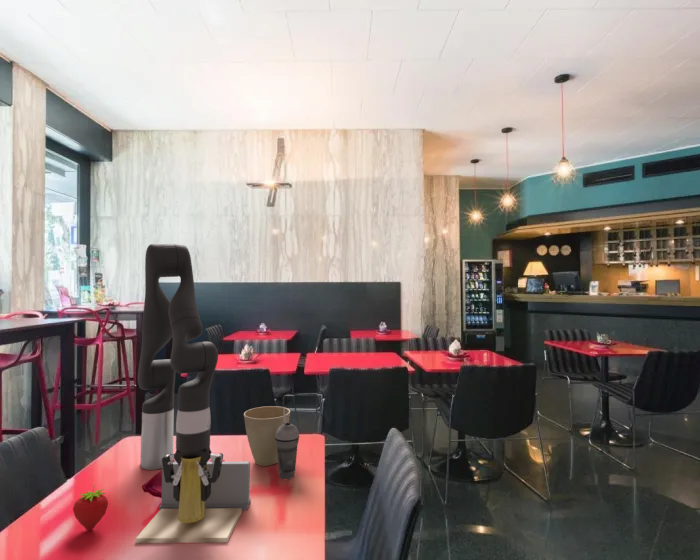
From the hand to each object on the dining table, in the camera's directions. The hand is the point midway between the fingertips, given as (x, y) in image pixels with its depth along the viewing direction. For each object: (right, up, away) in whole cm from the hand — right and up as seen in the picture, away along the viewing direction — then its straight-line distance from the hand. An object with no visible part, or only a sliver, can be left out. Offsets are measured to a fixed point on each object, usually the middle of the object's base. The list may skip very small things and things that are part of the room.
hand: (192, 499), depth 93 cm
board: (0, -6, 0) cm, 6 cm away
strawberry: (-23, -6, -2) cm, 24 cm away
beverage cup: (+18, -7, +26) cm, 32 cm away
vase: (0, -4, 0) cm, 4 cm away
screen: (0, -7, +9) cm, 11 cm away
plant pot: (+10, -8, +36) cm, 39 cm away
